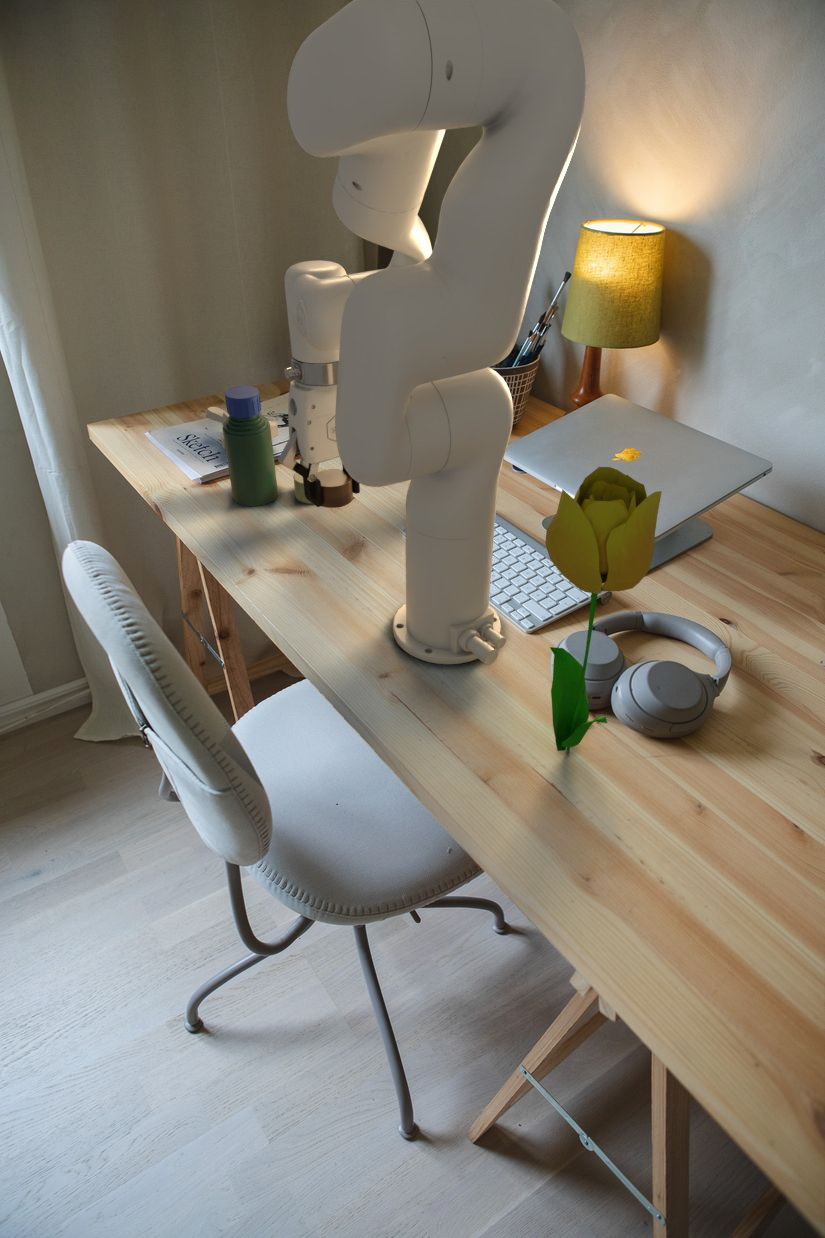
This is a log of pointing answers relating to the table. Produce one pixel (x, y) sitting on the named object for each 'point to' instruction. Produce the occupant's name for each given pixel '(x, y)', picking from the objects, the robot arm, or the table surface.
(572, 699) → the flower
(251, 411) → the cap
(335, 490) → the brown wooden puck
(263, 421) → the bottle
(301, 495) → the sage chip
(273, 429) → the bunny figurine
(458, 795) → the table surface
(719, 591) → the table surface
